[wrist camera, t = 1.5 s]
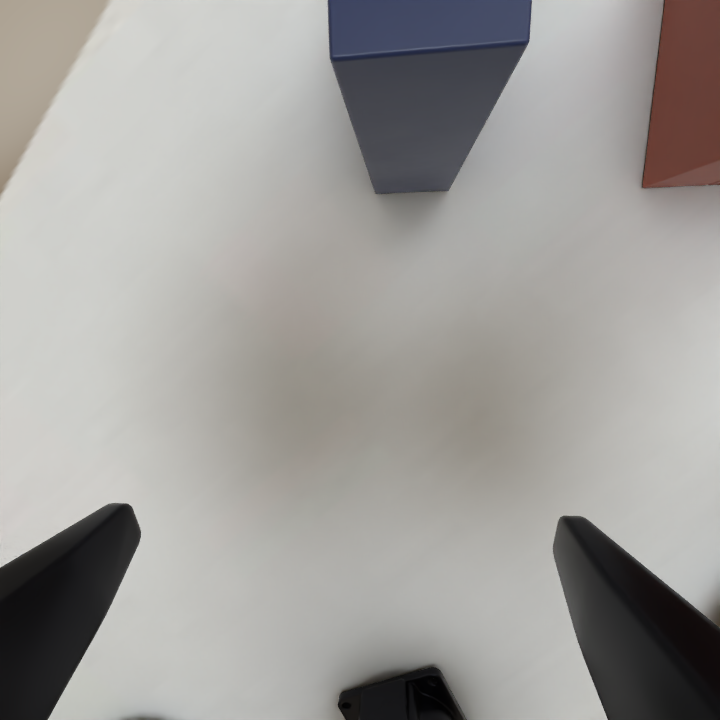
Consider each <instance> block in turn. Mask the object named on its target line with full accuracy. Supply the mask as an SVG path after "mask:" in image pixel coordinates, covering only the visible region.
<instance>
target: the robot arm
mask: <svg viewBox="0 0 720 720" xmlns="http://www.w3.org/2000/svg"><path fill="white" fill-rule="evenodd" d="M140 538H141V530H140V527H139V524H138V522H137V519H136V516H135V514H134V511H133V508H132V507H131V506H130V505H129V504H124V503H111V504H108V505H106V506H104V507H102V508H101V509H99V510H97V511H96V512H94V513H92V514H91V515H89V516H87V517H86V518H84V519H82V520H80V521H79V522H77V523H75V524H74V525H72V526H70V527H69V528H67V529H65V530H63V531H62V532H60V533H58V534H57V535H55V536H53V537H52V538H50V539H48V540H47V541H45V542H43V543H41V544H40V545H38V546H36V547H35V548H33V549H31V550H30V551H28V552H26V553H25V554H23V555H21V556H19V557H18V558H16V559H14V560H13V561H11V562H9V563H8V564H6V565H4V566H3V567H1V568H0V720H48V718H49V716H50V714H51V713H52V711H53V709H54V707H55V705H56V704H57V702H58V700H59V698H60V696H61V695H62V693H63V691H64V689H65V688H66V686H67V684H68V682H69V680H70V679H71V677H72V675H73V673H74V672H75V670H76V668H77V666H78V664H79V663H80V661H81V659H82V657H83V656H84V654H85V652H86V650H87V648H88V647H89V645H90V643H91V641H92V640H93V638H94V636H95V634H96V632H97V631H98V629H99V627H100V625H101V623H102V621H103V620H104V618H105V616H106V614H107V612H108V610H109V608H110V606H111V604H112V601H113V599H114V597H115V595H116V593H117V590H118V588H119V586H120V584H121V582H122V579H123V577H124V575H125V573H126V571H127V568H128V566H129V564H130V562H131V560H132V558H133V555H134V553H135V551H136V549H137V547H138V544H139V542H140ZM553 554H554V559H555V563H556V566H557V570H558V573H559V577H560V580H561V584H562V587H563V591H564V595H565V598H566V602H567V605H568V609H569V612H570V616H571V619H572V623H573V627H574V630H575V633H576V636H577V640H578V643H579V646H580V648H581V651H582V654H583V657H584V659H585V662H586V664H587V667H588V670H589V672H590V675H591V677H592V680H593V682H594V685H595V688H596V690H597V693H598V695H599V698H600V700H601V703H602V706H603V708H604V711H605V713H606V716H607V718H608V720H720V628H719V627H718V626H717V625H716V624H714V623H713V622H712V621H711V620H710V619H708V618H707V617H706V616H705V615H703V614H702V613H701V612H700V611H699V610H697V609H696V608H695V607H694V606H692V605H691V604H690V603H689V602H688V601H686V600H685V599H684V598H683V597H681V596H680V595H679V594H678V593H676V592H675V591H674V590H673V589H672V588H670V587H669V586H668V585H667V584H665V583H664V582H663V581H662V580H661V579H659V578H658V577H657V576H656V575H654V574H653V573H652V572H651V571H650V570H648V569H647V568H646V567H645V566H643V565H642V564H641V563H640V562H639V561H637V560H636V559H635V558H634V557H632V556H631V555H630V554H629V553H628V552H626V551H625V550H624V549H623V548H621V547H620V546H619V545H618V544H617V543H615V542H614V541H613V540H612V539H610V538H609V537H608V536H607V535H606V534H604V533H603V532H602V531H601V530H599V529H598V528H597V527H596V526H595V525H593V524H592V523H591V522H590V521H588V520H587V519H586V518H584V517H581V516H562V517H560V519H559V521H558V525H557V530H556V534H555V539H554V544H553ZM338 707H339V709H340V711H341V712H342V714H343V716H344V717H345V719H346V720H467V719H466V718H465V716H464V714H463V712H462V710H461V708H460V706H459V704H458V703H457V701H456V699H455V697H454V695H453V693H452V691H451V690H450V688H449V686H448V684H447V682H446V680H445V678H444V676H443V675H442V673H441V671H440V670H439V669H437V668H434V667H431V668H427V669H423V670H420V671H416V672H413V673H409V674H406V675H402V676H399V677H395V678H392V679H388V680H384V681H381V682H377V683H374V684H370V685H367V686H363V687H360V688H356V689H353V690H349V691H346V692H343V693H341V694H340V695H339V702H338Z"/></svg>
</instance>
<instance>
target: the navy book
mask: <svg viewBox="0 0 720 720" xmlns="http://www.w3.org/2000/svg"><path fill="white" fill-rule="evenodd" d="M531 5H532V0H328V24H329V53H330V60H331V63H332V66H333V69H334V72H335V75H336V78H337V81H338V84H339V87H340V90H341V93H342V96H343V99H344V102H345V105H346V108H347V111H348V114H349V117H350V120H351V123H352V125H353V128H354V131H355V134H356V137H357V140H358V143H359V146H360V149H361V152H362V155H363V158H364V161H365V164H366V167H367V170H368V173H369V176H370V179H371V182H372V185H373V188H374V191H375V193H376V194H384V193H406V192H427V191H448V190H449V189H450V187H451V185H452V183H453V181H454V179H455V178H456V176H457V174H458V172H459V170H460V168H461V167H462V165H463V163H464V161H465V159H466V157H467V156H468V154H469V152H470V150H471V148H472V146H473V144H474V143H475V141H476V139H477V137H478V135H479V133H480V132H481V130H482V128H483V126H484V124H485V122H486V121H487V119H488V117H489V115H490V113H491V111H492V109H493V108H494V106H495V104H496V102H497V100H498V98H499V97H500V95H501V93H502V91H503V89H504V87H505V85H506V84H507V82H508V80H509V78H510V76H511V74H512V73H513V71H514V69H515V67H516V65H517V63H518V62H519V60H520V58H521V56H522V54H523V52H524V50H525V49H526V47H527V45H528V43H529V39H530V22H531Z"/></svg>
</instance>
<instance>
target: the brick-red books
mask: <svg viewBox="0 0 720 720" xmlns="http://www.w3.org/2000/svg"><path fill="white" fill-rule="evenodd" d="M707 184H708V185H720V0H665V6H664V14H663V22H662V31H661V39H660V47H659V55H658V63H657V72H656V80H655V88H654V96H653V104H652V112H651V121H650V129H649V137H648V145H647V153H646V162H645V170H644V178H643V188H654V187H676V186H699V185H707Z"/></svg>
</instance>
